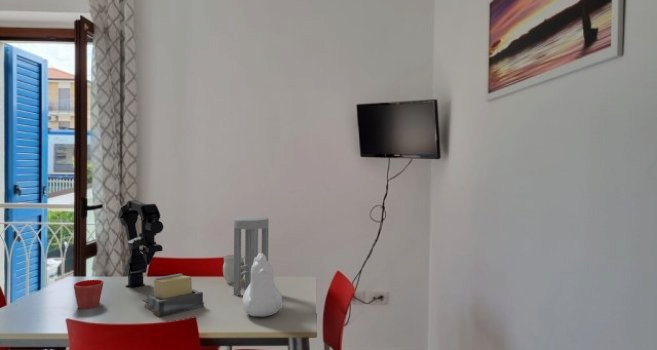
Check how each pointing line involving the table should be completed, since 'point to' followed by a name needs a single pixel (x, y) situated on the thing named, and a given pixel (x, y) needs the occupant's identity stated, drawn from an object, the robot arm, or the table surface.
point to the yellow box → (172, 286)
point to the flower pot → (88, 293)
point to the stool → (248, 247)
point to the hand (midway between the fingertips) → (147, 264)
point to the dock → (174, 304)
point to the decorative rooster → (262, 290)
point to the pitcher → (231, 268)
